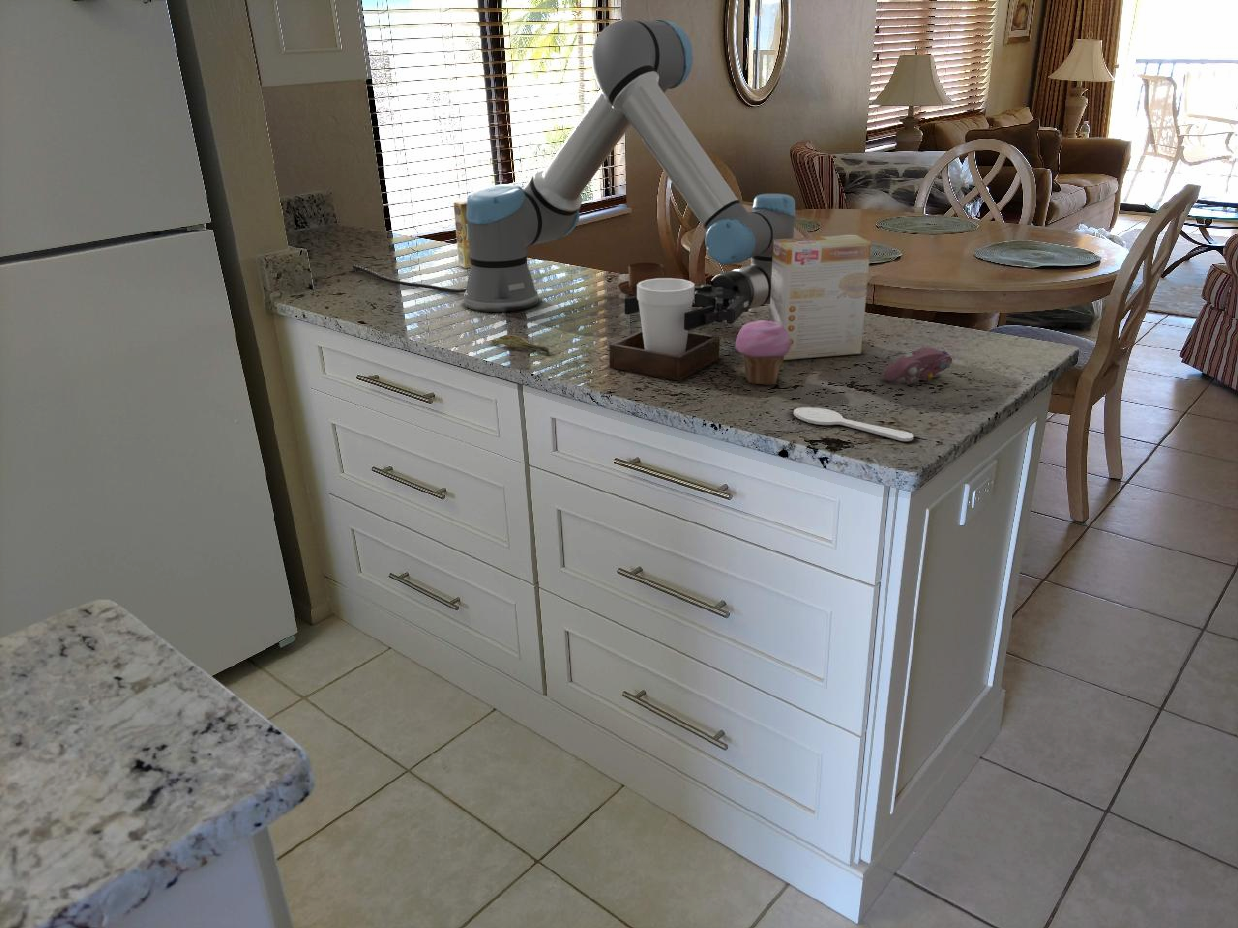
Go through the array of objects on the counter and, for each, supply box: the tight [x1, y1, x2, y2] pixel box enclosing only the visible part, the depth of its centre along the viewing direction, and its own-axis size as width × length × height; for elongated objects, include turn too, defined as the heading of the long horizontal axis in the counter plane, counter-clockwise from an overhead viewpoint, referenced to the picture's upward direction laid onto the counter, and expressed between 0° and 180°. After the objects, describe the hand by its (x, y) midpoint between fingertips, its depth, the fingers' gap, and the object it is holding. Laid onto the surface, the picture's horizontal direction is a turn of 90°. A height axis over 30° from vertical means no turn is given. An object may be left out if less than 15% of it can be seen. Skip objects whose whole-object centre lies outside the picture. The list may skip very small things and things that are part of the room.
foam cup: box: [637, 277, 695, 356], centre depth 160 cm, size 10×9×13 cm
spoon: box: [793, 406, 914, 442], centre depth 136 cm, size 5×18×1 cm, turn 52°
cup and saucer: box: [617, 261, 667, 297], centre depth 205 cm, size 12×12×6 cm
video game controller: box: [882, 346, 953, 385], centre depth 152 cm, size 10×5×7 cm, turn 114°
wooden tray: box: [608, 329, 721, 382], centre depth 162 cm, size 14×14×4 cm
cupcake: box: [734, 319, 791, 386], centre depth 152 cm, size 9×9×10 cm
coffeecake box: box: [768, 234, 872, 361], centre depth 164 cm, size 15×7×20 cm, turn 102°
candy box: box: [453, 200, 471, 269], centre depth 232 cm, size 9×4×15 cm, turn 125°
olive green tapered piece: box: [490, 334, 550, 356], centre depth 172 cm, size 4×13×2 cm, turn 56°
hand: (654, 314), depth 158 cm, fingers open, 13 cm apart
